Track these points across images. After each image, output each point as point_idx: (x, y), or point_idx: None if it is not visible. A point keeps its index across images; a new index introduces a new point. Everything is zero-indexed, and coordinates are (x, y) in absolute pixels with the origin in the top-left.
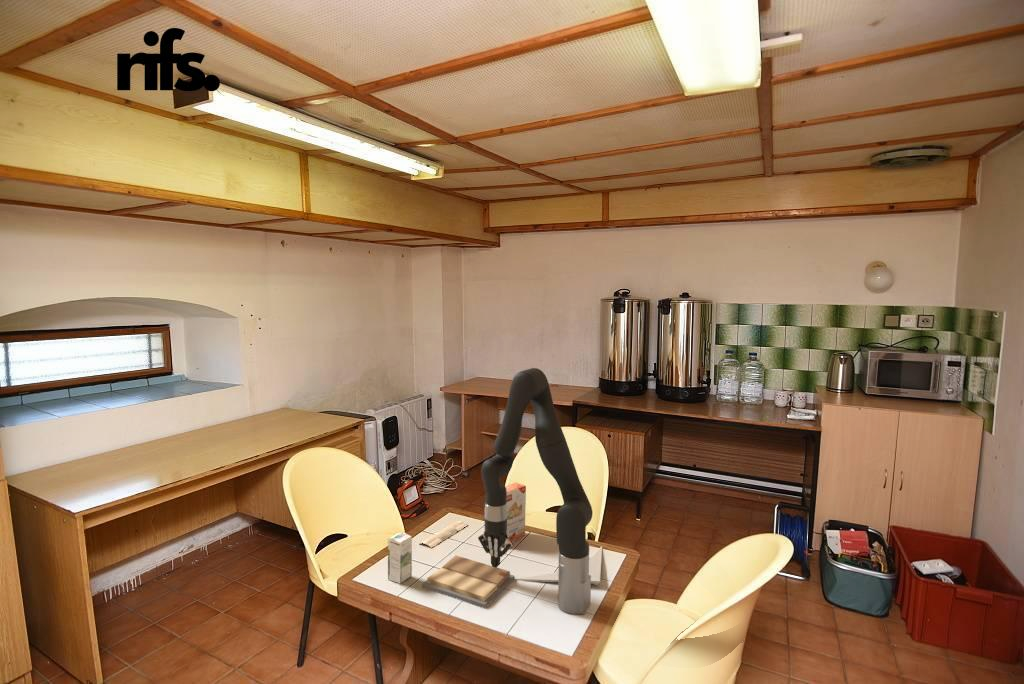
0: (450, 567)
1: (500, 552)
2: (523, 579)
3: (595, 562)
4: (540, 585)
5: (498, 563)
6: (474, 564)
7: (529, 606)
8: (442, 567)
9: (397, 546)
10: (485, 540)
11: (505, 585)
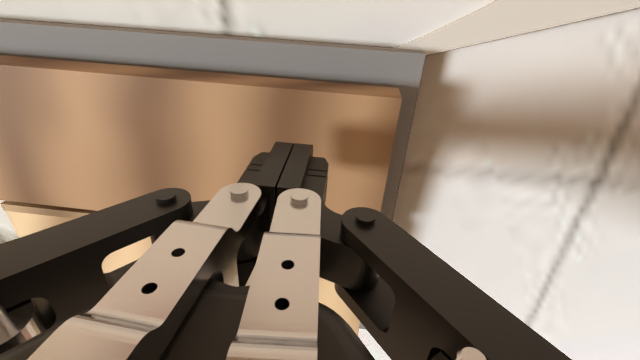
0: (37, 194)
1: (353, 313)
2: (494, 39)
3: None
4: (636, 44)
5: (325, 195)
6: (117, 114)
7: (568, 257)
8: (7, 207)
9: None
10: (33, 291)
11: (399, 172)
